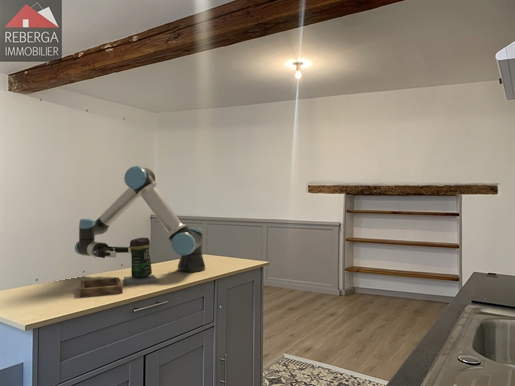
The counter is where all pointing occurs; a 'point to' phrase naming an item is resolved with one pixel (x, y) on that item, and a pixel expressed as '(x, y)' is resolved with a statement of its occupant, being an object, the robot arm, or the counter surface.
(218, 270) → the counter surface
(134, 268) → the coffee jar
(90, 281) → the walnut frame
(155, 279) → the grey board
